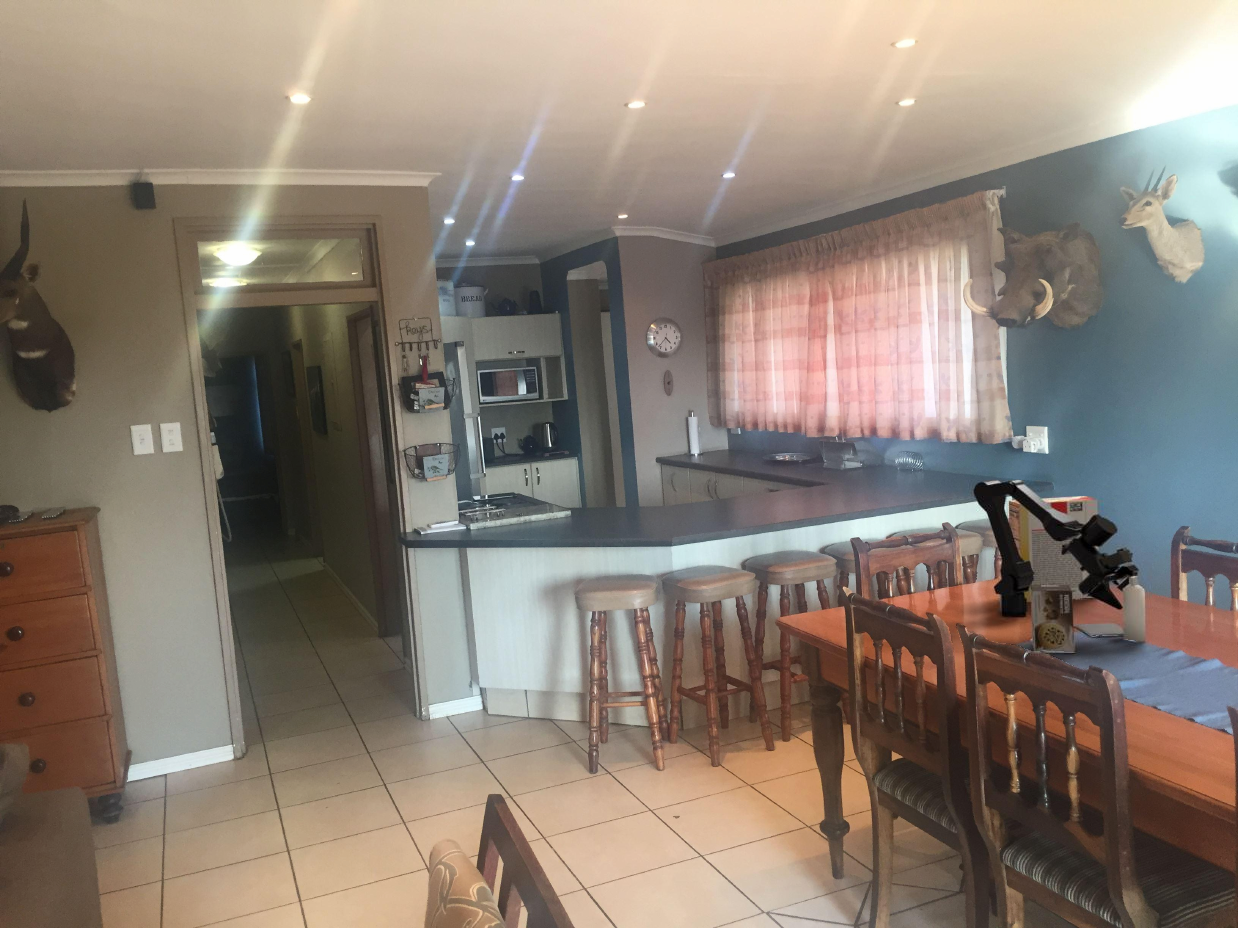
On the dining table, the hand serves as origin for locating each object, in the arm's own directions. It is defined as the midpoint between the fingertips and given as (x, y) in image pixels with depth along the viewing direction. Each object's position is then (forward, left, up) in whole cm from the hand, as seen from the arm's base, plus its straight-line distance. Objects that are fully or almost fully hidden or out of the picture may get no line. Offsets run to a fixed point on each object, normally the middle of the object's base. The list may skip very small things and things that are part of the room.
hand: (1132, 605), depth 229 cm
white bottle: (0, 0, -9) cm, 9 cm away
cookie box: (-21, -10, -9) cm, 25 cm away
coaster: (-5, +7, -9) cm, 12 cm away
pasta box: (-10, +45, -9) cm, 47 cm away
